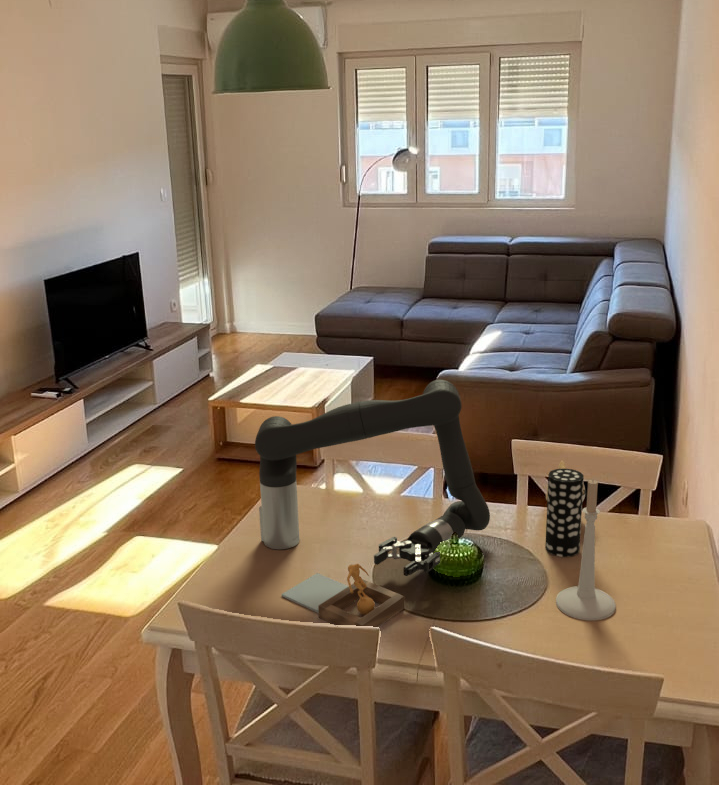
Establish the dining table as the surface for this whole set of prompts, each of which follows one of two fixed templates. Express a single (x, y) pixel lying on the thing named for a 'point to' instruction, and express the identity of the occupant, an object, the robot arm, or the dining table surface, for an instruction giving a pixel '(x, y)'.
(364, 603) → the figurine
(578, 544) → the white-spotted black cylinder
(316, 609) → the ceramic tile
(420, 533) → the robot arm
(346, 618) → the pocket frame
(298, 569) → the dining table surface
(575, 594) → the candlestick
